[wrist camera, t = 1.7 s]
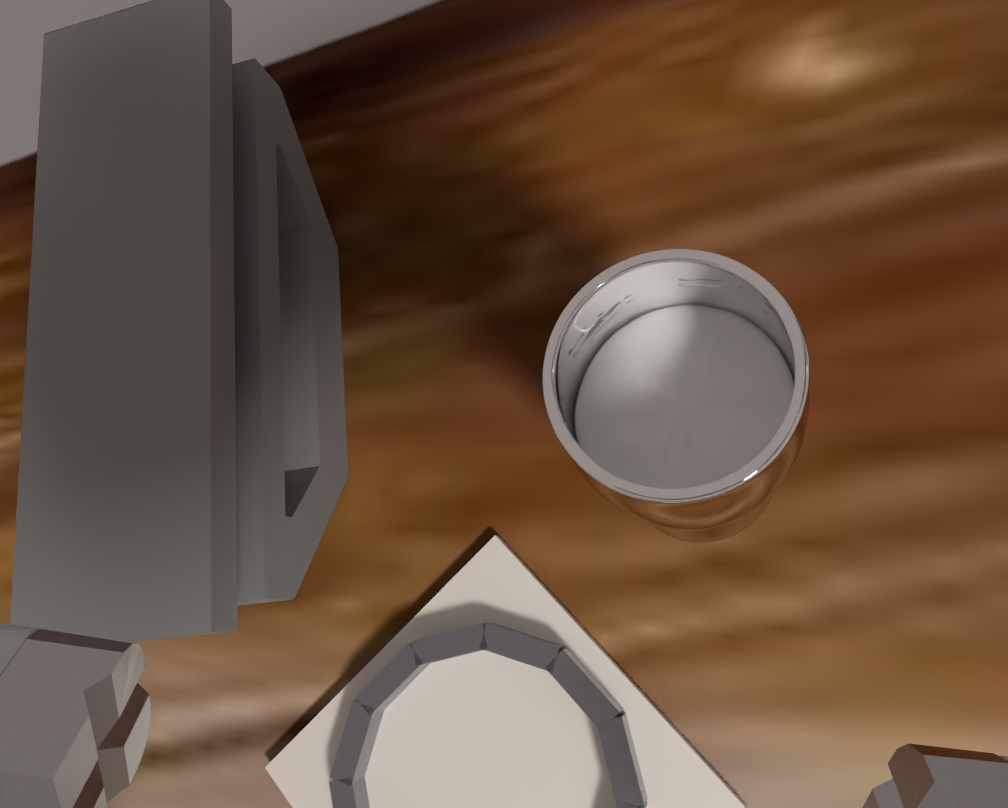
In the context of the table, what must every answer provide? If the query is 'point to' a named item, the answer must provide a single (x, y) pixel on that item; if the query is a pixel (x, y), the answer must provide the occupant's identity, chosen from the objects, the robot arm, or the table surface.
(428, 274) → the table surface
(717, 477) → the steel tumbler
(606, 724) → the steel ring collar
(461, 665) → the pale board
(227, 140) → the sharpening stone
